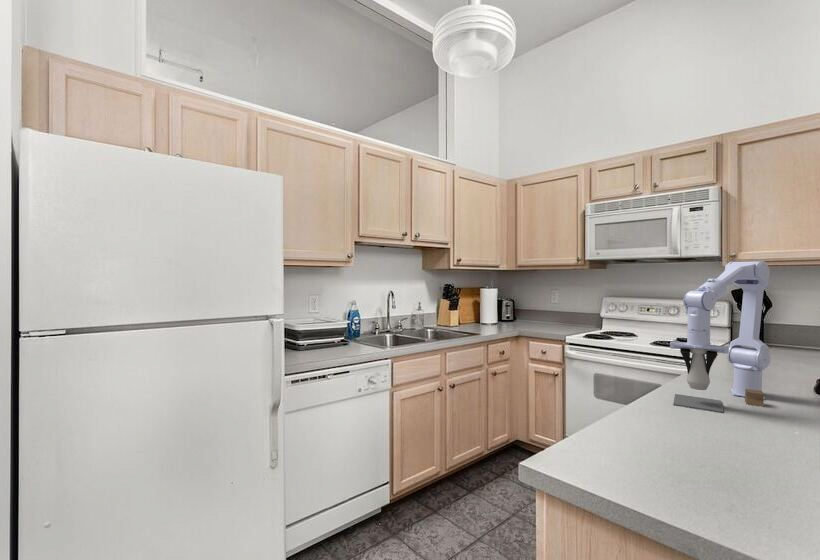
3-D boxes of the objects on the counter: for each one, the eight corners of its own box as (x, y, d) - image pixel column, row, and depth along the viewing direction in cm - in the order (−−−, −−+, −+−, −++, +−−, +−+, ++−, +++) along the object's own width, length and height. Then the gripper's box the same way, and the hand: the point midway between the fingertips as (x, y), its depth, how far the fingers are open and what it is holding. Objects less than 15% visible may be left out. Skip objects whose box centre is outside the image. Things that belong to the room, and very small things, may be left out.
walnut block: (744, 401, 128) (745, 388, 128) (761, 403, 125) (761, 390, 125) (746, 404, 124) (746, 391, 124) (763, 407, 122) (763, 393, 122)
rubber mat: (675, 395, 133) (675, 393, 133) (720, 401, 127) (721, 400, 127) (673, 405, 123) (673, 403, 123) (723, 413, 116) (723, 411, 116)
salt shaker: (702, 386, 127) (703, 344, 127) (714, 391, 121) (714, 347, 121) (682, 385, 127) (683, 344, 128) (693, 390, 122) (693, 346, 122)
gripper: (669, 329, 125) (669, 373, 126) (729, 333, 117) (728, 380, 117) (671, 327, 131) (670, 369, 131) (728, 331, 123) (727, 375, 123)
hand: (697, 374), depth 125 cm, fingers closed on salt shaker, 4 cm apart
